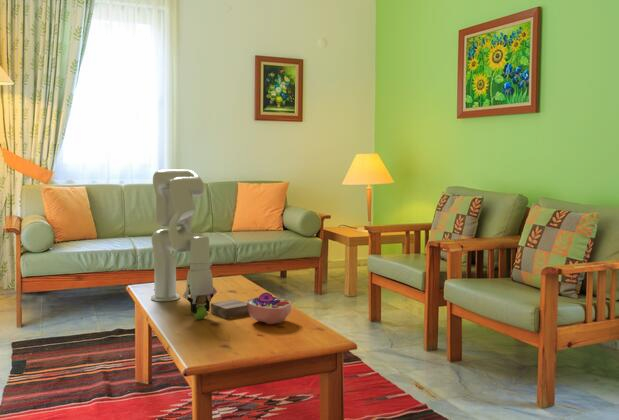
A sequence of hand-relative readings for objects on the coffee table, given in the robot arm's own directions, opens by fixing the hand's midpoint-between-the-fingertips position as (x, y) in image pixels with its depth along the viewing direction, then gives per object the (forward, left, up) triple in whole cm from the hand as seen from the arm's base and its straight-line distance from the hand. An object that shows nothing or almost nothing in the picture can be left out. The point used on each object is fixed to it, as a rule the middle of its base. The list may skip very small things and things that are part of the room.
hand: (200, 311), depth 251 cm
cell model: (+21, +19, -3) cm, 28 cm away
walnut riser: (0, +14, -3) cm, 15 cm away
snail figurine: (0, -1, -3) cm, 3 cm away
